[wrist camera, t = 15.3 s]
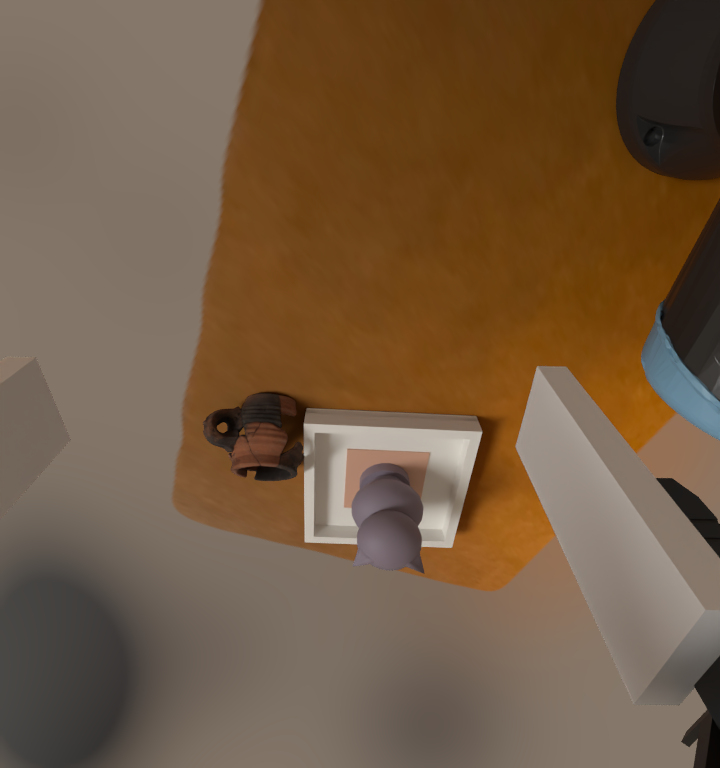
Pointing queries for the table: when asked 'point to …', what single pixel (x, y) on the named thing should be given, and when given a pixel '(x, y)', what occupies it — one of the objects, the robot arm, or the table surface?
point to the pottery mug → (257, 437)
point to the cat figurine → (387, 519)
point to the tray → (386, 445)
